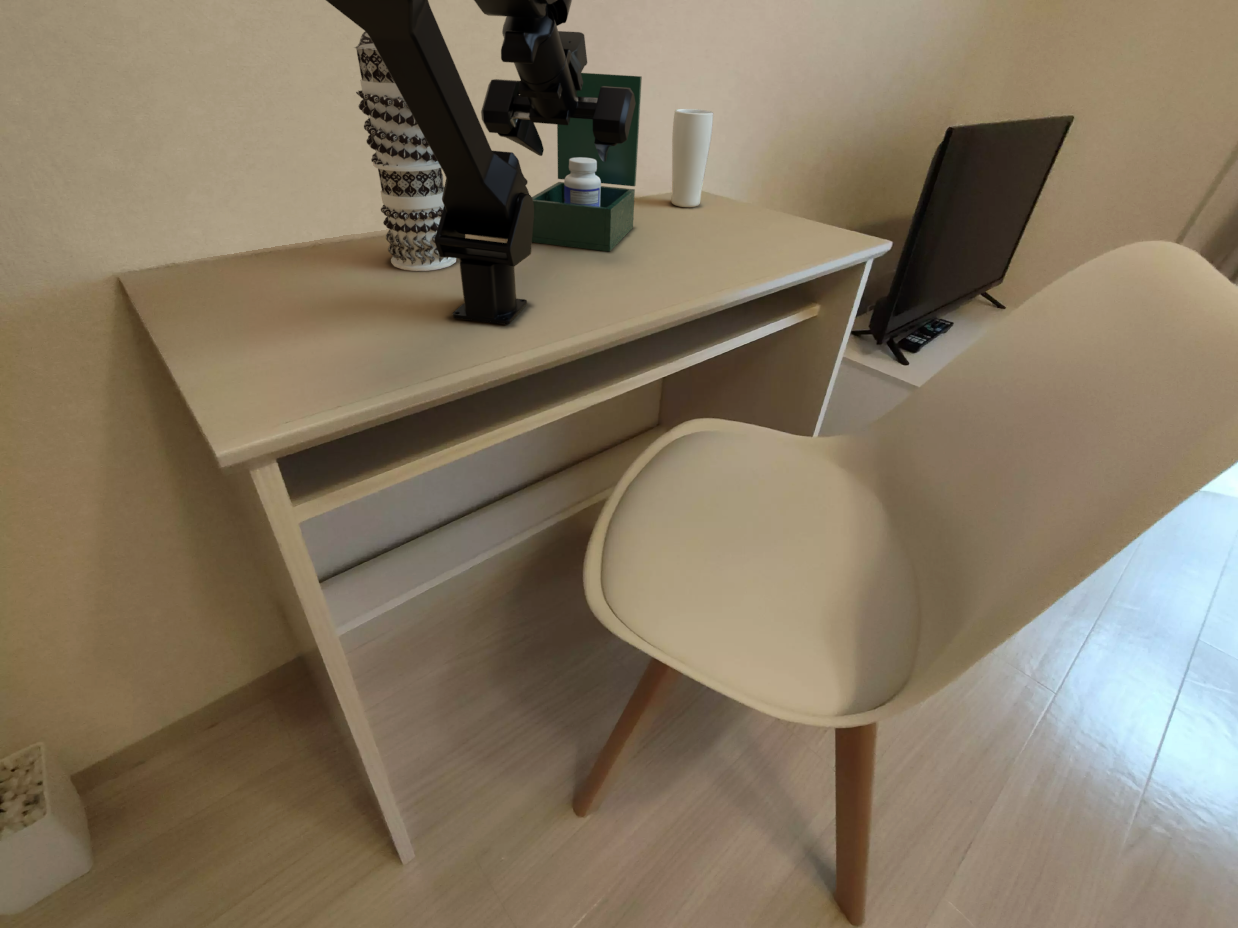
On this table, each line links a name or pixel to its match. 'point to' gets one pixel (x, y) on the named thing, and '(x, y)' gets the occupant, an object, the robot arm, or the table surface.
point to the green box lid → (581, 138)
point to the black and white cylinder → (401, 167)
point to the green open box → (583, 219)
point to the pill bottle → (582, 183)
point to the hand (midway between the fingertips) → (573, 155)
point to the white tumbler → (690, 154)
